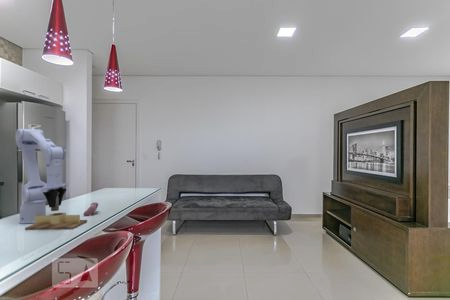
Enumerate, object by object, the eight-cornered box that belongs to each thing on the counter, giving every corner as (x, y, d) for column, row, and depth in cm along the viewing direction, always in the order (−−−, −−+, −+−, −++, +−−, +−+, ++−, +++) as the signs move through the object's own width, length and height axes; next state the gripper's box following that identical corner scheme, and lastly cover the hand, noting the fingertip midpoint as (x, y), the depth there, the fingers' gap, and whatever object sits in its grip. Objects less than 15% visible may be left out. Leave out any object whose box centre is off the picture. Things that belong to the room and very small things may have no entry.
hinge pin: (48, 211, 112) (48, 193, 112) (53, 209, 115) (53, 192, 115) (56, 211, 112) (56, 193, 112) (61, 209, 115) (61, 192, 115)
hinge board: (25, 229, 110) (25, 227, 110) (43, 222, 121) (43, 220, 121) (73, 229, 110) (73, 226, 110) (87, 222, 121) (87, 219, 121)
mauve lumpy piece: (91, 219, 132) (97, 206, 133) (82, 215, 131) (89, 202, 132) (94, 214, 142) (101, 202, 143) (86, 211, 141) (92, 199, 142)
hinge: (30, 225, 112) (30, 216, 112) (41, 221, 118) (40, 212, 118) (75, 225, 112) (75, 215, 112) (83, 221, 118) (83, 212, 118)
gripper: (52, 176, 106) (53, 210, 106) (73, 173, 121) (74, 202, 121) (35, 176, 106) (35, 210, 106) (58, 173, 121) (58, 203, 121)
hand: (55, 206), depth 114 cm, fingers closed on hinge pin, 3 cm apart
